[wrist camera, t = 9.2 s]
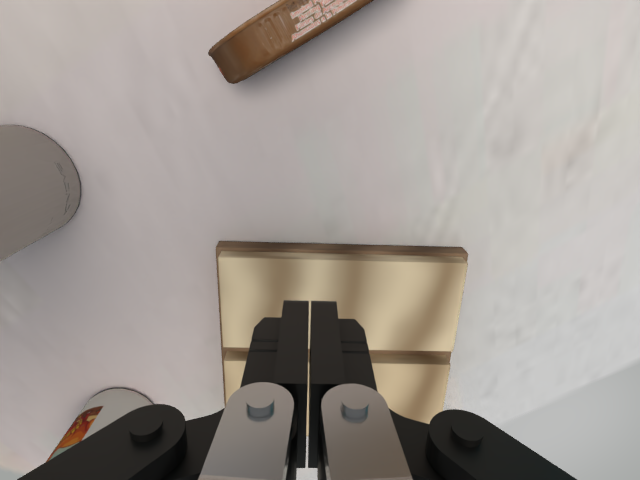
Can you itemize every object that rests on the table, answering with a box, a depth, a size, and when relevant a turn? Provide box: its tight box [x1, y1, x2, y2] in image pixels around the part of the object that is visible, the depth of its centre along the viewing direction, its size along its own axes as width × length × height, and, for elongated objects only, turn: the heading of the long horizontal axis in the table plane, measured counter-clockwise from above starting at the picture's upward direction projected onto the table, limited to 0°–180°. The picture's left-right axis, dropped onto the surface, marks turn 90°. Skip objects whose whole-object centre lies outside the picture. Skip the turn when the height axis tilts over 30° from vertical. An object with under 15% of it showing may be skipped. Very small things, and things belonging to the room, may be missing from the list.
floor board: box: [216, 241, 468, 436], centre depth 40 cm, size 22×20×3 cm
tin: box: [208, 0, 373, 84], centre depth 28 cm, size 15×3×8 cm, turn 119°
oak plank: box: [218, 251, 468, 351], centre depth 37 cm, size 21×9×2 cm, turn 88°
